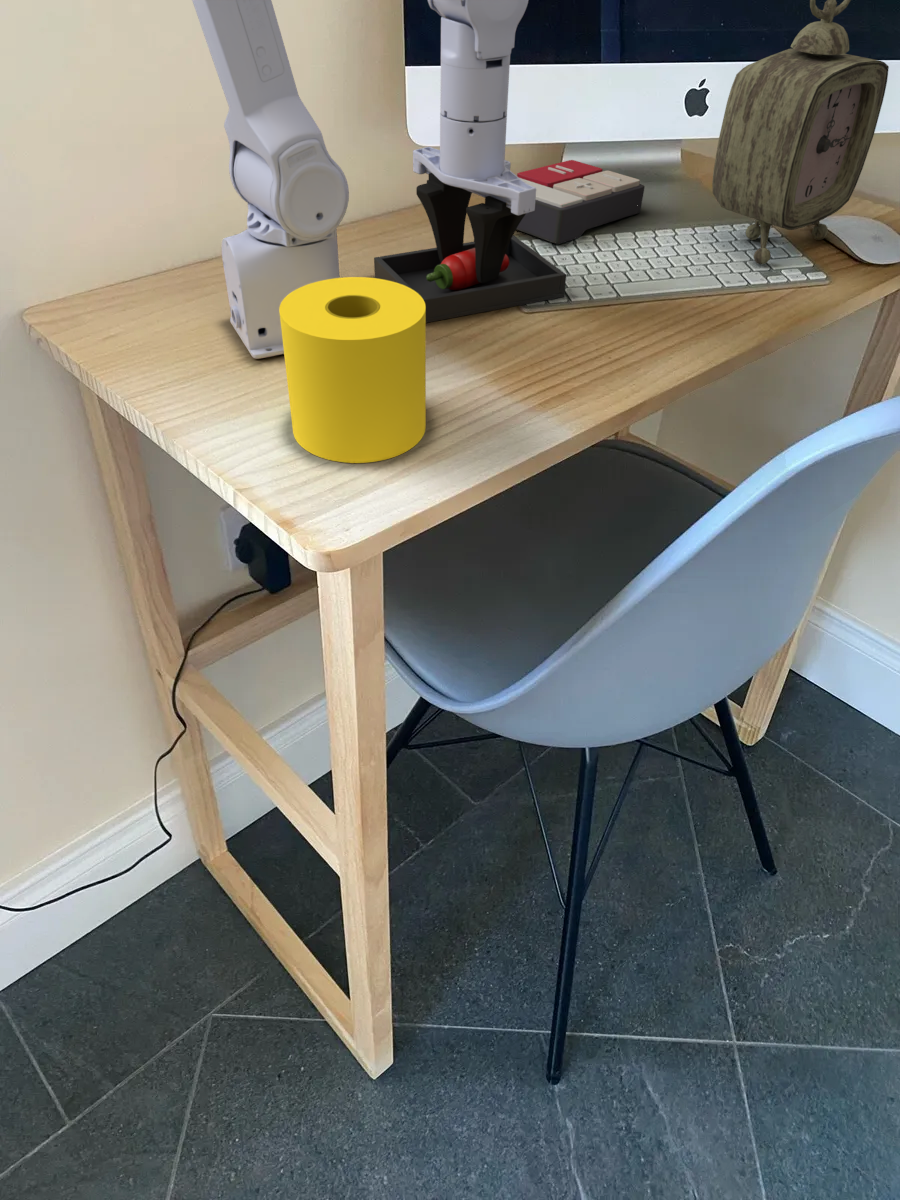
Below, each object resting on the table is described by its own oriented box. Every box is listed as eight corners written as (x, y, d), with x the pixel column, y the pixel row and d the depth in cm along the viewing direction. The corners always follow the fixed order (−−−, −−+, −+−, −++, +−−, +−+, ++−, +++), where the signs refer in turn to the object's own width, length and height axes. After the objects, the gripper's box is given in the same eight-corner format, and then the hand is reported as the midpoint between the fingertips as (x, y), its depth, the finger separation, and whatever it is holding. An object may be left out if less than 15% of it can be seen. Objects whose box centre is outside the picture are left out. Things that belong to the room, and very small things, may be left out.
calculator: (648, 178, 102) (563, 202, 93) (640, 218, 104) (557, 245, 96) (571, 155, 107) (484, 176, 99) (566, 194, 110) (481, 217, 101)
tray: (417, 324, 82) (417, 301, 80) (374, 279, 89) (373, 257, 87) (564, 297, 87) (566, 274, 85) (512, 256, 94) (513, 234, 92)
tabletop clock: (763, 275, 91) (838, -25, 75) (691, 248, 96) (746, -38, 80) (841, 241, 98) (926, -39, 82) (770, 217, 103) (836, -51, 87)
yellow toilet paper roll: (449, 440, 68) (452, 320, 61) (326, 477, 64) (315, 352, 57) (388, 382, 74) (384, 267, 68) (272, 412, 70) (257, 293, 64)
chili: (436, 305, 84) (438, 272, 82) (415, 290, 86) (417, 258, 84) (516, 278, 89) (520, 246, 87) (494, 265, 91) (498, 233, 88)
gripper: (567, 125, 75) (552, 284, 84) (454, 88, 84) (452, 238, 93) (504, 140, 72) (495, 304, 81) (393, 100, 80) (397, 254, 89)
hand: (468, 270), depth 87 cm, fingers open, 5 cm apart
